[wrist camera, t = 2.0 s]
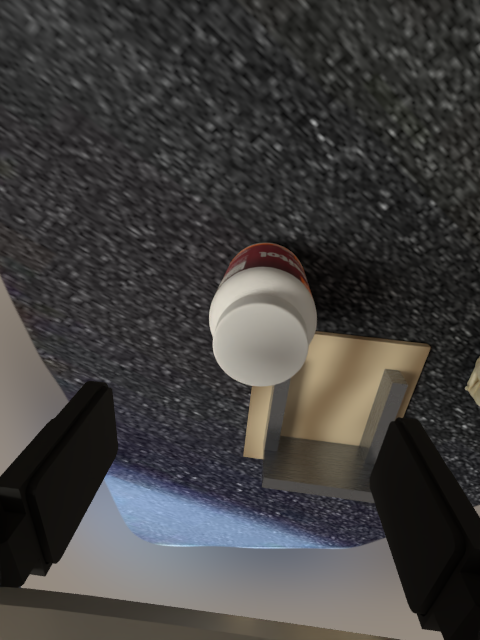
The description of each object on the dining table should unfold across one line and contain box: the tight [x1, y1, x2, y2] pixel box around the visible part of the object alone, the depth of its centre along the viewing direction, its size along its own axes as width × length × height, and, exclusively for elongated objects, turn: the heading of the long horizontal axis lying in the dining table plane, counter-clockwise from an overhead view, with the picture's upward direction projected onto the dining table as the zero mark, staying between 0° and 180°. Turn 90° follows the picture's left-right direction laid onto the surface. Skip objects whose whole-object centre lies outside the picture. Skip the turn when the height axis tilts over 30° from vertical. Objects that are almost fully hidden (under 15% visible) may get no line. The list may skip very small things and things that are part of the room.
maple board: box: [244, 331, 431, 459], centre depth 30 cm, size 14×15×1 cm
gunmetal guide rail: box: [262, 369, 408, 503], centre depth 27 cm, size 10×10×5 cm
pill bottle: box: [209, 243, 317, 387], centre depth 20 cm, size 6×6×11 cm
